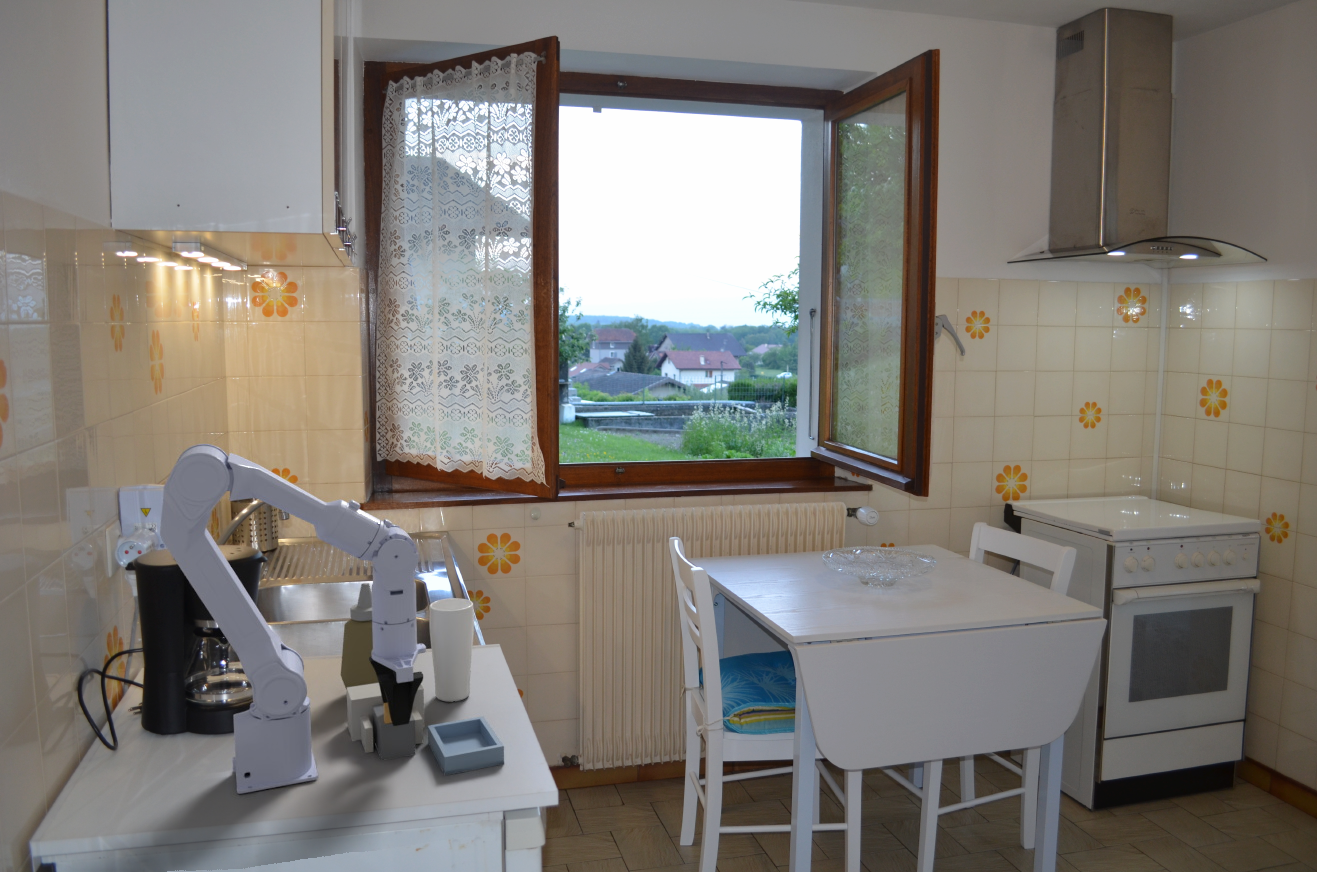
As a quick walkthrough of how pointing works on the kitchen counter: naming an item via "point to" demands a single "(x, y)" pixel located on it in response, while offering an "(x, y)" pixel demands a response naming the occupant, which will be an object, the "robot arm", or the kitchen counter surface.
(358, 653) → the squeeze bottle
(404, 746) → the gray block with tab
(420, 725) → the bay
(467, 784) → the kitchen counter surface
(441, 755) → the tray
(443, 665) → the drinking glass
